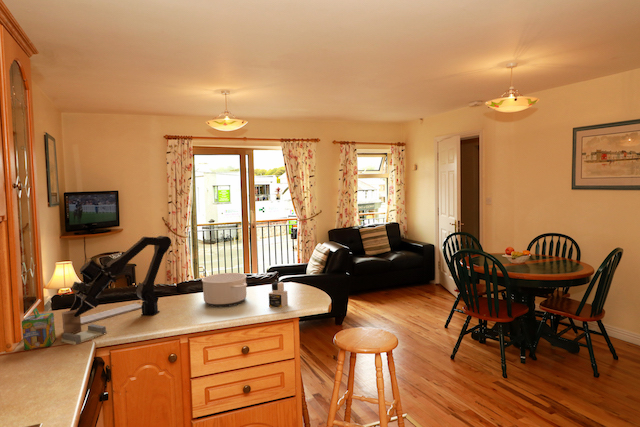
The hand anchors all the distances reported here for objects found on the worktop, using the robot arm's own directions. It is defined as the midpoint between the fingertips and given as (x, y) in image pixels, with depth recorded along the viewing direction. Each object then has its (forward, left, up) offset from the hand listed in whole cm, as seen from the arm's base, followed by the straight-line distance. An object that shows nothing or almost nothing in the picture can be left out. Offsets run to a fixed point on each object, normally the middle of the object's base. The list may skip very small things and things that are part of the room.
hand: (72, 314), depth 178 cm
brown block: (0, 0, -8) cm, 8 cm away
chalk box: (+3, +15, -8) cm, 17 cm away
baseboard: (+1, -25, -8) cm, 27 cm away
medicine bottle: (-82, -40, -8) cm, 92 cm away
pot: (-52, -45, -8) cm, 70 cm away
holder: (-10, +6, -8) cm, 14 cm away
